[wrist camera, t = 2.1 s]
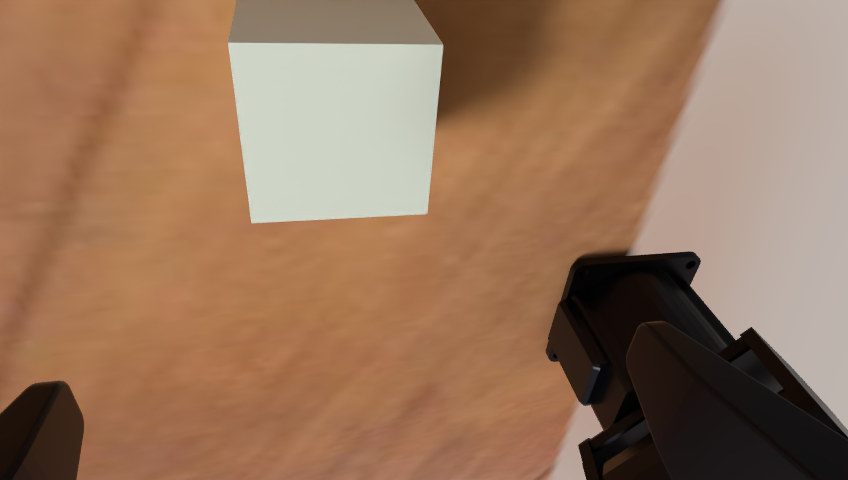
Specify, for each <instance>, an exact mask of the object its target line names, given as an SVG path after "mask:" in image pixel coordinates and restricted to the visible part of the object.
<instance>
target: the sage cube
mask: <svg viewBox="0 0 848 480" xmlns="http://www.w3.org/2000/svg"><path fill="white" fill-rule="evenodd" d="M228 46H229V54H230V61H231V69H232V77H233V85H234V92H235V100H236V108H237V115H238V123H239V131H240V138H241V146H242V154H243V161H244V169H245V177H246V185H247V192H248V200H249V208H250V215H251V223H264V222H283V221H303V220H322V219H341V218H360V217H379V216H398V215H418V214H427V211H428V201H429V190H430V180H431V169H432V159H433V149H434V138H435V128H436V117H437V107H438V96H439V86H440V76H441V65H442V55H443V43H442V42H441V40H440V39H439V37H438V36H437V34H436V33H435V31H434V30H433V28H432V27H431V25H430V23H429V22H428V20H427V19H426V17H425V16H424V14H423V13H422V11H421V10H420V8H419V7H418V5H417V4H416V2H415V1H414V0H237V1H236V6H235V11H234V16H233V21H232V26H231V31H230V36H229V40H228Z"/></svg>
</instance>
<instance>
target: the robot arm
mask: <svg viewBox="0 0 848 480" xmlns="http://www.w3.org/2000/svg"><path fill="white" fill-rule="evenodd" d="M700 262H701V261H700V258H699V257H698V256H697V255H696V254H695V253H694V252H679V253H678V252H677V253H663V254H650V255H636V256H622V257H608V258H594V259H582V260H579V261H577V262H575V263H574V264H573V265H572V266H571V268H570V272H569V275H568V278H567V282H566V285H565V288H564V292H563V295H562V298H561V301H560V302H559V304H558V306H557V310H556V313H555V316H554V320H553V323H552V327H551V330H550V333H549V337H548V340H549V342H548V345H547V348H546V354H547V356H548V358H549V360H550V361H553V362H557V361H559V362H560V364H561V366H562V368H563V370H564V372H565V374H566V376H567V378H568V380H569V382H570V384H571V386H572V388H573V390H574V392H575V394H576V396H577V398H578V400H579V402H580V403H581V404H583V405H585V406H587V405H591V407H592V408H593V410H594V413H595V414H596V416H597V418H598V420H599V422H600V424H601V426H602V428H603V431H602V432H601V433H599V434H597V435H596V436H594V437H593V438H592V439H590V438H588V439H586V440H585V441H583V442H582V443H580V444H579V445H578V446H579V450H580V454H581V458H582V462H583V463H582V464H583V469H584V472H585V476H586V480H848V430H847V429H846V428H845V427H844V425H843V424H842V423H841V422H840V421H839V419H838V418H837V417H836V416H835V415H834V414H833V412H832V411H831V410H830V409H829V408H828V407H827V406H826V404H825V403H824V402H823V401H822V400H821V399H820V398H819V397H818V396H817V395H816V394H815V392H814V391H813V390H812V389H811V388H810V387H809V386H808V385H807V384H806V383H805V381H804V380H803V379H802V378H801V377H800V376H799V375H798V374H797V373H796V372H795V371H794V369H792V367H791V366H790V365H789V364H788V363H787V362H786V361H785V360H784V359H783V358H782V357H781V356H780V355H779V354H778V353H777V352H776V351H775V350H774V349H773V348H772V347H771V346H770V345H769V344H768V343H767V342H766V341H765V340H764V339H763V338H762V337H761V336H760V335H759V334H758V333H757V332H756V331H755V330H754V329H753V328H752V327H751V328H749V329H748V330H746V331H745V332H743V333H742V334H740V336H741V337H740V338H739V339H737V340H735V339H734V338H733V336H732V335H731V334H730V333H729V332H728V330H727V329H726V328H725V327H724V326H723V325H722V324H721V322H720V321H719V320H718V319H717V317H716V316H715V315H714V314H713V313H712V311H711V310H710V309H709V308H708V307H707V306H706V304H705V303H704V302H703V301H702V300H701V298H700V297H699V296H698V295H697V294H696V292H695V291H694V290H693V289H692V288H691V287H690V284H691V282H692V280H693V278H694V276H695V273H696V272H697V269H698V267H699V265H700ZM582 270H583V271H582ZM580 271H581V272H580ZM83 433H84V420H83V415H82V413H81V411H80V408H79V406H78V404H77V402H76V400H75V398H74V395H73V393H72V391H71V389H70V387H69V385H68V384H67V383H66V382H64V381H52V382H41V383H35V384H32V385H31V386H29V387H28V388H26V389H25V390H24V391H23V392H22V393H21V394H20V395H19V396H18V397H17V398H16V399H15V400H14V401H13V402H12V403H11V404H10V405H9V406H8V407H7V408H6V409H5V410H4V411H3V412H2V413H1V414H0V480H76V479H77V472H78V465H79V459H80V452H81V446H82V439H83Z"/></svg>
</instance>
